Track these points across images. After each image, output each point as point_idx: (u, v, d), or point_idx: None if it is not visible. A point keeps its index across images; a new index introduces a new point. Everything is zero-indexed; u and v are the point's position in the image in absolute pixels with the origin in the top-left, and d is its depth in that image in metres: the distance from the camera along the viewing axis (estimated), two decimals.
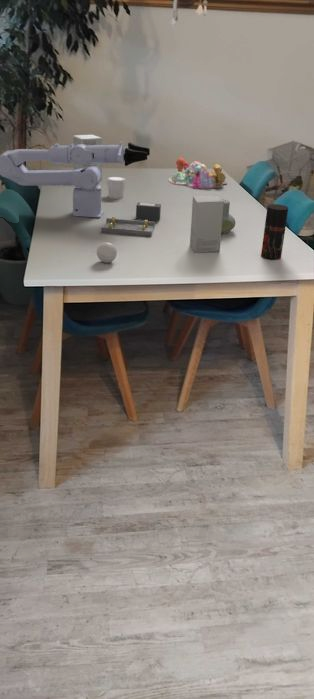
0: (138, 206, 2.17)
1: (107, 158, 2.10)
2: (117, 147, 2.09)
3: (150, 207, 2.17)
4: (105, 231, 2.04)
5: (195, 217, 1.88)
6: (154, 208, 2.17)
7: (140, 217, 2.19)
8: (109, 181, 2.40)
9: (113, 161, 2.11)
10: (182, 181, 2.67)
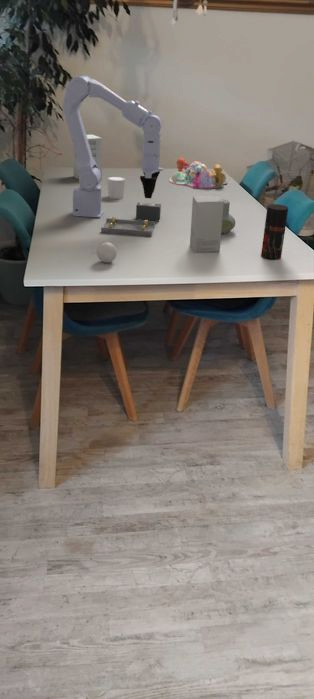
0: (138, 206, 2.17)
1: (147, 156, 2.09)
2: (157, 166, 2.11)
3: (150, 207, 2.17)
4: (105, 231, 2.04)
5: (195, 217, 1.88)
6: (154, 208, 2.17)
7: (140, 217, 2.19)
8: (109, 181, 2.40)
9: (144, 161, 2.10)
10: (182, 181, 2.68)
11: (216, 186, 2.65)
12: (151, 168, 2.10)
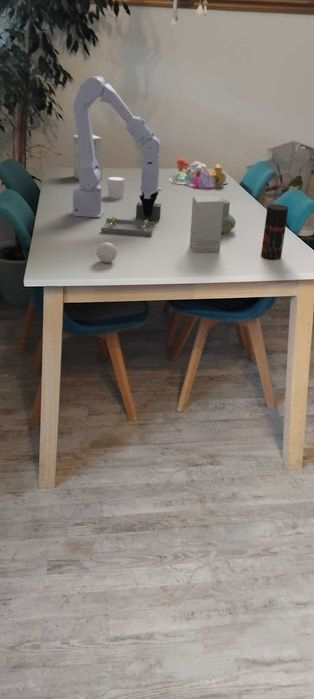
0: (138, 206, 2.17)
1: (146, 177, 2.12)
2: (156, 187, 2.14)
3: None
4: (105, 231, 2.04)
5: (195, 217, 1.88)
6: (154, 208, 2.17)
7: (140, 217, 2.19)
8: (109, 181, 2.40)
9: (143, 182, 2.13)
10: (182, 181, 2.68)
11: (216, 186, 2.65)
12: (150, 188, 2.13)
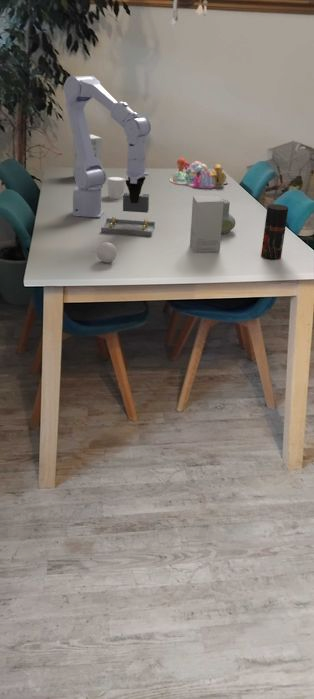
0: (125, 196, 2.06)
1: (132, 160, 2.00)
2: (143, 171, 2.02)
3: None
4: (105, 231, 2.04)
5: (195, 217, 1.88)
6: (142, 198, 2.06)
7: (127, 208, 2.08)
8: (109, 181, 2.40)
9: (129, 166, 2.01)
10: (183, 181, 2.68)
11: (216, 186, 2.65)
12: (137, 173, 2.01)
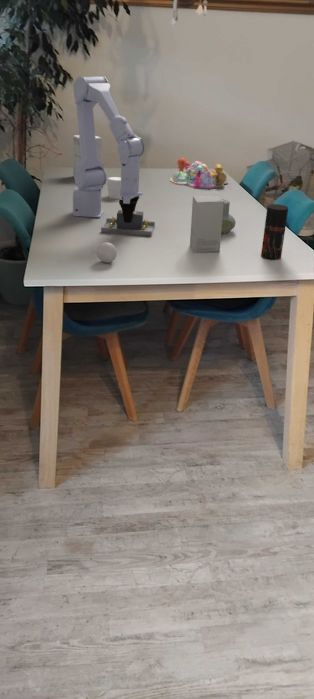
0: (119, 214, 2.05)
1: (125, 180, 1.99)
2: (136, 191, 2.01)
3: None
4: (105, 231, 2.04)
5: (195, 217, 1.88)
6: (136, 216, 2.05)
7: (121, 226, 2.06)
8: (109, 181, 2.40)
9: (122, 185, 2.01)
10: (183, 181, 2.68)
11: (217, 186, 2.66)
12: (130, 193, 2.01)
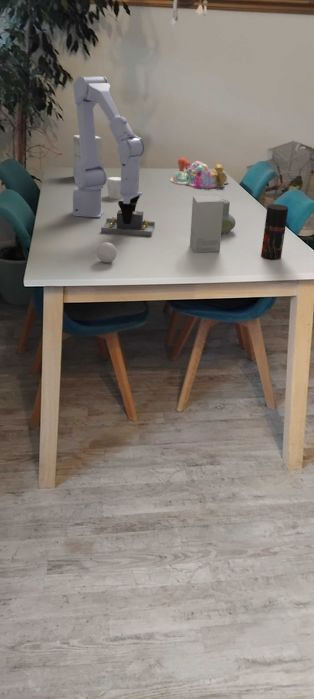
0: (119, 214, 2.05)
1: (125, 180, 1.99)
2: (136, 191, 2.01)
3: None
4: (105, 231, 2.04)
5: (195, 217, 1.88)
6: (136, 216, 2.05)
7: (121, 226, 2.06)
8: (109, 181, 2.40)
9: (122, 186, 2.01)
10: (183, 181, 2.68)
11: (217, 186, 2.66)
12: (130, 193, 2.01)
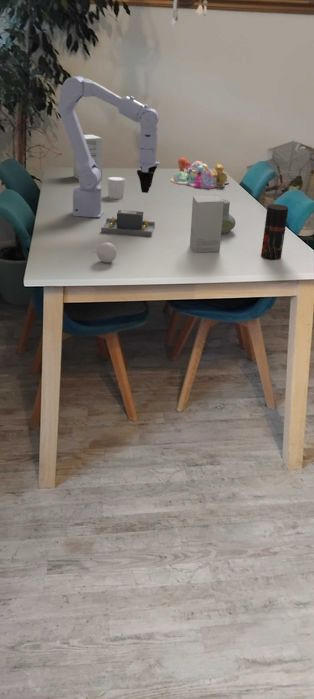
0: (119, 214, 2.05)
1: (144, 150, 2.08)
2: (154, 161, 2.10)
3: (131, 215, 2.05)
4: (105, 231, 2.04)
5: (195, 217, 1.88)
6: (136, 216, 2.05)
7: (121, 226, 2.06)
8: (109, 181, 2.40)
9: (141, 155, 2.09)
10: (184, 181, 2.68)
11: (217, 186, 2.66)
12: (148, 162, 2.09)
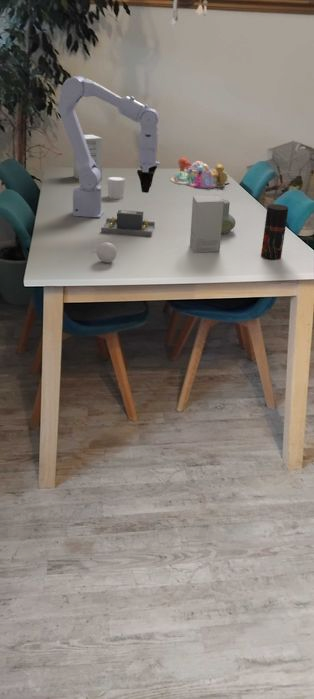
0: (119, 214, 2.05)
1: (144, 150, 2.08)
2: (154, 161, 2.10)
3: (131, 215, 2.05)
4: (105, 231, 2.04)
5: (195, 217, 1.88)
6: (136, 216, 2.05)
7: (121, 226, 2.06)
8: (109, 181, 2.40)
9: (141, 155, 2.10)
10: (184, 181, 2.68)
11: (218, 186, 2.66)
12: (148, 162, 2.10)
